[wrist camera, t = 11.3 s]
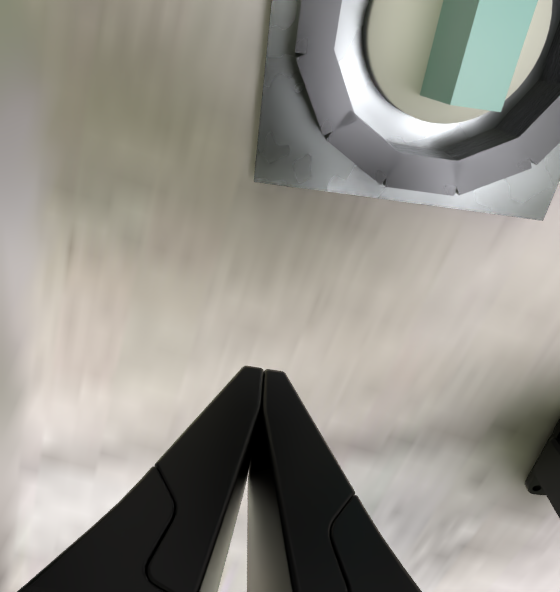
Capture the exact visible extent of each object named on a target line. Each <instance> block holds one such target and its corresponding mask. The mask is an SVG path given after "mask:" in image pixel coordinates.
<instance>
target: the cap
mask: <svg viewBox="0 0 560 592" xmlns="http://www.w3.org/2000/svg"><path fill="white" fill-rule="evenodd" d="M551 15H552V0H370V2H369V5H368V8H367V12H366V16H365V20H364V27H363V52H364V59H365V63H366V67H367V70H368V73H369V76H370V78H371V80H372V82H373V84H374V86H375V87H376V89H377V90H378V91H379V93H380V94H381V95H382V96H383V97H384V98H385V99H386V100H387V102H389V103H390V104H391V105H393V106H394V107H395V108H397V109H399V110H400V111H402V112H404V113H406V114H408V115H410V116H412V117H414V118H416V119H419V120H422V121H425V122H430V123H436V124H452V123H459V122H464V121H468V120H471V119H474V118H477V117H479V116H481V115H483V114H485V113H487V112H489V111H496V112H501V110H502V107H503V104H504V101H505V100H506V99H507V98H508V97H509V96H510V95H512V94H513V93H514V92H515V91H516V90H517V89H518V87H519V86H520V85H521V84H522V83H523V81H524V80H525V79H526V78H527V76H528V75H529V73H530V72H531V70H532V69H533V67H534V65H535V64H536V62H537V60H538V58H539V56H540V54H541V51H542V49H543V47H544V44H545V41H546V38H547V34H548V31H549V27H550V21H551Z"/></svg>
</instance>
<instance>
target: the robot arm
mask: <svg viewBox="0 0 560 592" xmlns="http://www.w3.org/2000/svg"><path fill="white" fill-rule="evenodd" d="M248 471H249V475H248ZM247 476H248V529H247V592H422V591H421V590H420V589H419V587H418V586H417V585H416V583H415V582H414V581H413V579H412V578H411V576H410V575H409V574H408V572H407V571H406V570H405V568H404V567H403V566H402V564H401V563H400V561H399V560H398V558H397V557H396V556H395V554H394V553H393V551H392V550H391V548H390V547H389V546H388V544H387V543H386V541H385V540H384V538H383V537H382V535H381V534H380V532H379V531H378V529H377V527H376V526H375V524H374V523H373V521H372V519H371V518H370V516H369V515H368V513H367V511H366V510H365V508H364V506H363V505H362V503H361V501H360V499H359V498H358V496H357V495H355V491H354V489H353V488H352V486H351V484H350V483H349V481H348V479H347V478H346V476H345V474H344V472H343V471H342V469H341V467H340V466H339V464H338V462H337V460H336V459H335V457H334V455H333V454H332V452H331V450H330V449H329V447H328V445H327V443H326V442H325V440H324V438H323V437H322V435H321V433H320V432H319V430H318V428H317V426H316V425H315V423H314V421H313V420H312V418H311V416H310V415H309V413H308V411H307V409H306V408H305V406H304V404H303V403H302V401H301V399H300V397H299V396H298V394H297V392H296V391H295V389H294V387H293V386H292V384H291V382H290V380H289V379H288V377H287V375H286V374H285V373H284V372H283V371H277V370H270V369H266V370H265V371H263V369H262V368H257V367H251V366H244V367H243V368H241V370H240V371H239V372H238V373H237V374H236V375H235V376H234V377H233V378H232V380H231V381H230V382H229V383H228V384H227V385H226V386H225V387H224V388H223V389H222V391H221V392H220V393H219V394H218V395H217V396H216V397H215V398H214V399H213V401H212V402H211V403H210V404H209V405H208V406H207V407H206V408H205V409H204V410H203V412H202V413H201V414H200V415H199V416H198V417H197V418H196V419H195V420H194V422H193V423H192V424H191V425H190V426H189V427H188V428H187V429H186V430H185V431H184V433H183V434H182V435H181V436H180V437H179V438H178V439H177V440H176V441H175V442H174V444H173V445H172V446H171V447H170V448H169V449H168V450H167V451H166V452H165V454H164V455H163V456H162V457H161V458H160V459H159V460H158V461H157V462H156V463H155V467H152V468H151V469H150V470H149V471H148V472H147V473H146V474H145V475H144V476H143V478H142V479H141V480H140V481H139V482H138V483H137V484H136V485H135V486H134V487H133V488H132V489H131V490H130V491H129V492H128V493H127V494H126V495H125V496H124V497H123V498H122V499H121V501H120V502H119V503H118V504H116V505H115V506H114V507H113V508H112V509H111V510H110V511H109V512H108V513H107V514H105V515H104V516H103V517H102V518H101V519H100V520H99V521H98V522H97V523H96V524H95V525H93V526H92V527H91V528H90V529H89V530H88V531H87V532H85V533H84V534H83V535H82V536H81V537H80V538H78V539H77V540H76V541H75V542H74V543H73V544H72V545H70V546H69V547H68V548H67V549H66V550H65V551H64V552H62V553H61V554H60V555H59V556H58V557H57V558H55V559H54V560H53V561H52V562H51V563H50V564H49V565H47V566H46V567H45V568H44V569H43V570H42V571H40V572H39V573H38V574H37V575H36V576H35V577H34V578H32V579H31V580H30V581H29V582H28V583H27V584H26V585H24V586H23V587H22V588H21V589H20V590H18V591H17V592H217V591H218V588H219V584H220V580H221V576H222V572H223V569H224V565H225V561H226V557H227V554H228V550H229V546H230V542H231V538H232V535H233V531H234V527H235V523H236V520H237V516H238V512H239V508H240V504H241V501H242V497H243V493H244V489H245V485H246V481H247ZM525 485H526V488H527V489H528V491H529V492H530V493H532V494H538V495H547V497H548V499H549V500H550V502H551V504H552V506H553V507H554V509H555V511H556V513H557V514H558V516H559V518H560V420H559V422H558V424H557V426H556V427H555V429H554V431H553V433H552V435H551V437H550V438H549V440H548V442H547V444H546V446H545V447H544V449H543V451H542V453H541V455H540V456H539V458H538V460H537V462H536V464H535V465H534V467H533V469H532V471H531V473H530V474H529V476H528V478H527V480H526V482H525Z"/></svg>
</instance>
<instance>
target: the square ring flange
mask: <svg viewBox="0 0 560 592" xmlns="http://www.w3.org/2000/svg"><path fill="white" fill-rule="evenodd" d="M369 2H370V0H272V4H271V14H270V24H269V34H268V45H267V55H266V65H265V75H264V85H263V95H262V105H261V115H260V125H259V135H258V145H257V155H256V165H255V175H254V182H260V183H267V184H275V185H282V186H290V187H297V188H304V189H312V190H319V191H327V192H334V193H342V194H349V195H356V196H364V197H371V198H379V199H386V200H394V201H401V202H408V203H416V204H423V205H431V206H438V207H446V208H453V209H460V210H468V211H475V212H483V213H490V214H498V215H505V216H512V217H520V218H527V219H535V220H542V221H543V219H544V217H545V215H546V212H547V210H548V207H549V205H550V203H551V200H552V198H553V195H554V193H555V190H556V188H557V186H558V183H559V181H560V0H552V15H551V21H550V27H549V31H548V34H547V38H546V41H545V44H544V47H543V49H542V51H541V54H540V56H539V58H538V60H537V62H536V64H535V65H534V67H533V69H532V70H531V72H530V73H529V75H528V76H527V78H526V79H525V80H524V81H523V83H522V84H521V85H520V86H519V87H518V89H517V90H516V91H515V92H514V93H513V94H512V95H510V96H509V97H508V98H507V99H506V100H505V101H504V104H503V107H502V110H501V112H496V111H489V112H487V113H485V114H483V115H481V116H479V117H477V118H474V119H471V120H468V121H464V122H459V123H452V124H436V123H430V122H425V121H422V120H419V119H416V118H414V117H412V116H410V115H408V114H406V113H404V112H402V111H400V110H399V109H397V108H395V107H394V106H393V105H391V104H390V103H389V102H387V100H386V99H385V98H384V97H383V96H382V95H381V94H380V93H379V91H378V90H377V89H376V87H375V86H374V84H373V82H372V80H371V78H370V76H369V73H368V70H367V67H366V63H365V59H364V52H363V27H364V20H365V16H366V12H367V8H368V5H369Z"/></svg>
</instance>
